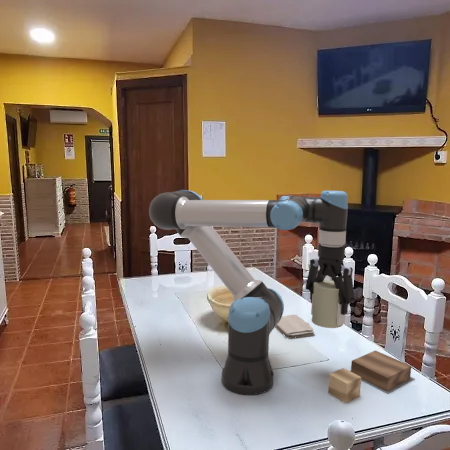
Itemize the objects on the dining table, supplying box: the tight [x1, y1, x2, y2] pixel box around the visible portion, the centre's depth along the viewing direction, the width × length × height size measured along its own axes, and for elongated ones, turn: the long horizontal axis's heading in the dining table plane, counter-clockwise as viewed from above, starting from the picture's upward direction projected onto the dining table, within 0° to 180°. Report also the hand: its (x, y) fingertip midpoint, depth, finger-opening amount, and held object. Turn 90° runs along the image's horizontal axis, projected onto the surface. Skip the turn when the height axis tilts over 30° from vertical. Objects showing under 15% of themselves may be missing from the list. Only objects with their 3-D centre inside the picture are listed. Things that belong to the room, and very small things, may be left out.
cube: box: [327, 367, 362, 404], centre depth 111 cm, size 6×6×6 cm
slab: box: [350, 350, 412, 391], centre depth 121 cm, size 12×12×4 cm
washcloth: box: [274, 314, 315, 339], centre depth 156 cm, size 12×18×3 cm, turn 18°
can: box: [311, 279, 344, 329], centre depth 120 cm, size 9×9×12 cm
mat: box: [349, 370, 415, 395], centre depth 122 cm, size 14×14×1 cm
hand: (327, 318), depth 121 cm, fingers closed on can, 9 cm apart
